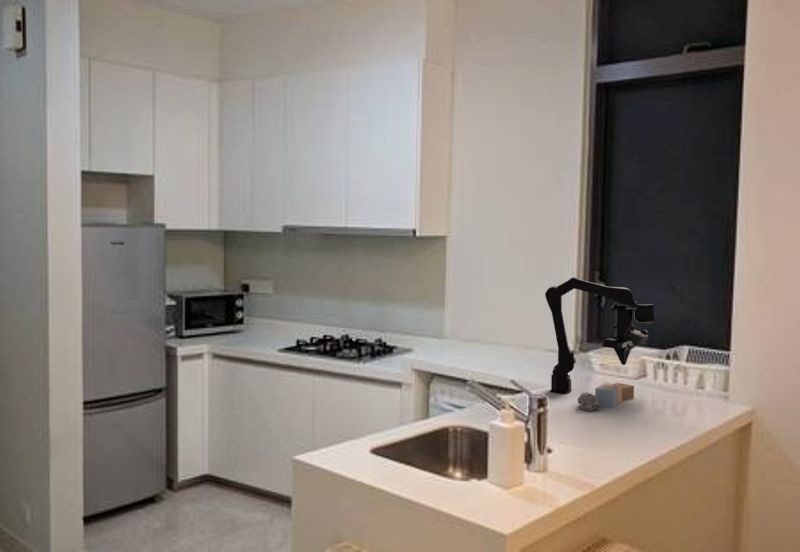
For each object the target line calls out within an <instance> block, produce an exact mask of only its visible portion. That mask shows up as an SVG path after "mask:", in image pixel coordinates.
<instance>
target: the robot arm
mask: <svg viewBox="0 0 800 552" xmlns="http://www.w3.org/2000/svg"><path fill="white" fill-rule="evenodd" d="M573 290H578V291H582V292H587V293H591V294H594V295H598V296H602V297H605V298H608V299H610V300H612V301H614V304H613V305H612V306H610V310H611V311H615V324H613V328H614V329H615V335H613V337H611V338H604V339H603V340H602V341H601V345H602V346H601V347H603V348H607V349H608V348H609V349H613V350H614V352H615V353H616V356H617V357H618V359H619V361H620V363H621V365H622V366H625V365H627V362H628V359H629V356H630V353H631V351H632V350H633V349H635V348H636V347H637V346H641V345H646V342H647V341H648V340H649V339H650V338H649V337H650V335H649V331H648V330H647V329H642V330H636V324H633V319H634V320H635V321H636V322H637V323H639V324H654V323H655V312H654V304H653V303H647V304H640V303H639V304H638V303H637V301H635V299H634V298H633V297H634V296H633V293H632V291H631V289H629V288H627V287H620V286H607V285H603V284H600V283H596V282H591V281H587V280H584V279H580V278H577V277H575V276H574V277H570V278H569V279H568V280H566V281H565V282H563V283H561V284H559V285H557V286H555V285H553V286H552V285H551V286H550V287H549V288H547V290H546V291H545V293H544V294H545V296H544V297H545V299H546V302H547V305H548V308H549V309H550V311H551V316H552V321H553V322H552V323H553V327H554V333H555V336H556V337H555V338H556V343H557V348H558V349H557V358H558V359H557V364H556V365H554V366H553V367H552V371H551V372H552V373H551V377H550V379H551V380H550V387H551V389H549V392H550V393H558V394H567V393H570V392H572V390H573V389H572V379H571V375H570V374H569V373H571V372H572V371H573V370H574V368H575V364H576V363H577V359H576V358H575V350H574V349H573V350H571V349H570V347H569V343H568V337H567V332H566V326H565V321H564V316H563V307H562V306H563V296H564V295H566V294H567V293H569V292H571V291H573ZM617 303H618V304H620V305H618V304H617ZM627 305H628V306H629V307H630V308H629V307H627ZM633 343H634V344H635V345H634V344H633Z"/></svg>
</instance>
